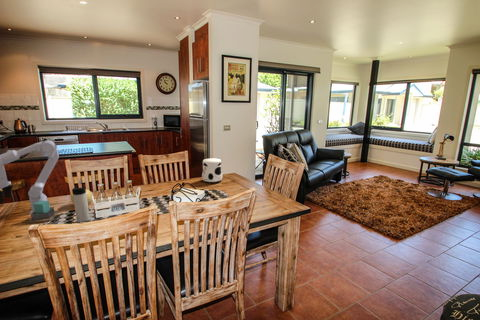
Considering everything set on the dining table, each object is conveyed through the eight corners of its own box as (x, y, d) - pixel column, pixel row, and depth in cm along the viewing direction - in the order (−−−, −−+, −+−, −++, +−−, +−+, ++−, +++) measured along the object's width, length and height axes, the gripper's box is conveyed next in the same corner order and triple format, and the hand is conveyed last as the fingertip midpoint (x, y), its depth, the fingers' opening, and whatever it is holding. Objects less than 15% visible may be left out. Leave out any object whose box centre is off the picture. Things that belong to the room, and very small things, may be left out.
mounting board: (37, 214, 151) (37, 212, 151) (59, 212, 154) (58, 210, 154) (26, 224, 139) (26, 222, 139) (50, 221, 142) (50, 219, 142)
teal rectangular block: (42, 213, 149) (39, 200, 147) (50, 213, 149) (48, 200, 147) (35, 217, 144) (33, 204, 142) (44, 217, 144) (42, 204, 142)
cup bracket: (37, 213, 150) (36, 208, 149) (56, 211, 152) (55, 206, 151) (29, 220, 141) (28, 215, 140) (49, 218, 143) (48, 213, 143)
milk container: (198, 180, 216) (197, 160, 212) (214, 176, 228) (214, 157, 224) (210, 185, 204) (209, 163, 200) (226, 181, 216) (226, 160, 212)
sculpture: (76, 201, 170) (74, 186, 168) (96, 200, 173) (94, 185, 170) (69, 208, 160) (66, 192, 157) (90, 207, 162) (87, 191, 159)
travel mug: (76, 224, 139) (70, 190, 134) (78, 219, 145) (72, 186, 140) (89, 222, 141) (84, 188, 137) (90, 217, 147) (86, 184, 143)
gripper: (-2, 174, 149) (3, 196, 152) (-18, 182, 136) (-12, 205, 139) (13, 173, 151) (17, 195, 154) (-2, 180, 138) (4, 204, 141)
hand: (4, 200), depth 147 cm, fingers open, 7 cm apart
